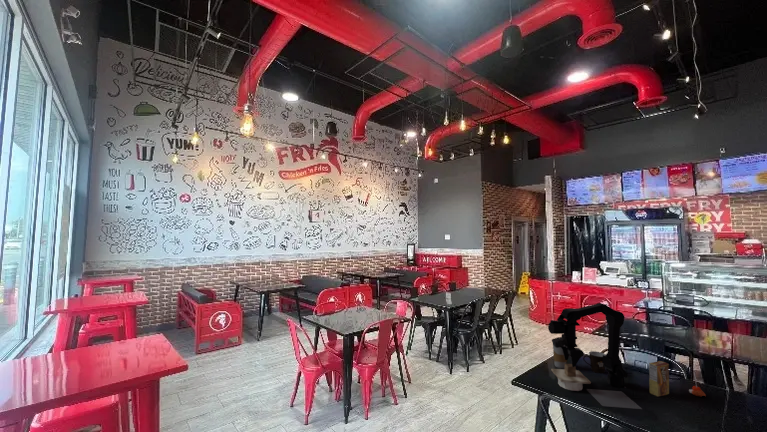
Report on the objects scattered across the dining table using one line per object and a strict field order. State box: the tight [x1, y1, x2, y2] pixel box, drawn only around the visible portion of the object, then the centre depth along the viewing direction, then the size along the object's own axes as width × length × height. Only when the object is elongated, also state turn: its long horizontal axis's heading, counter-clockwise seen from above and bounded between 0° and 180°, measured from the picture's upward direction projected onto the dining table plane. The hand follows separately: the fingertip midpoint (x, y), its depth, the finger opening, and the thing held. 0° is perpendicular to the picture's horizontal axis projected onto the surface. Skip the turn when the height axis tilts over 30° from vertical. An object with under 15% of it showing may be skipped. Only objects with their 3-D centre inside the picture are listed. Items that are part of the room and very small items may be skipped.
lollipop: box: [688, 371, 707, 397], centre depth 167 cm, size 6×10×12 cm, turn 146°
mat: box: [585, 388, 643, 410], centre depth 162 cm, size 17×17×1 cm
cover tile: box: [551, 363, 592, 385], centre depth 176 cm, size 14×14×6 cm
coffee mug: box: [582, 350, 607, 375], centre depth 196 cm, size 12×9×10 cm
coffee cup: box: [552, 344, 568, 369], centre depth 202 cm, size 8×8×15 cm
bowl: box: [557, 378, 584, 392], centre depth 175 cm, size 11×11×5 cm
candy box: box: [648, 360, 670, 397], centre depth 169 cm, size 9×4×15 cm, turn 110°
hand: (569, 363), depth 176 cm, fingers open, 9 cm apart
